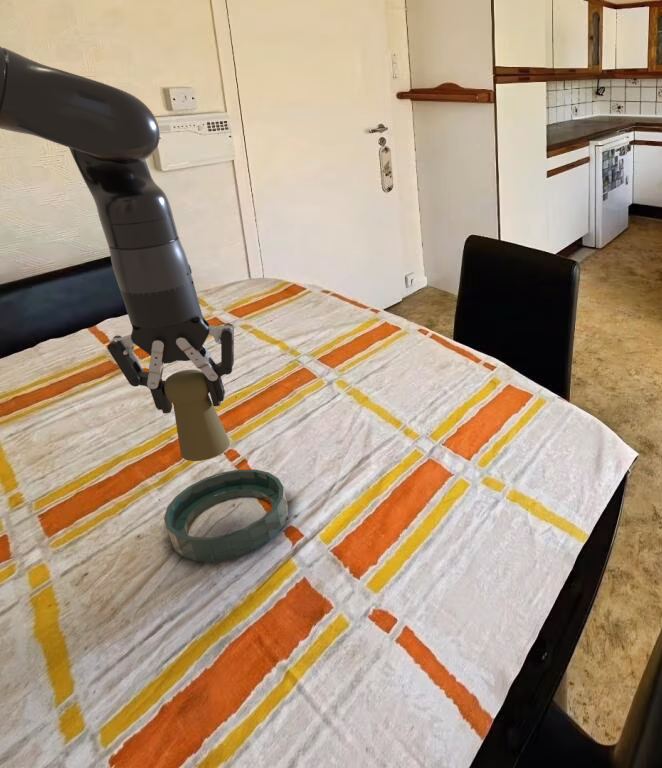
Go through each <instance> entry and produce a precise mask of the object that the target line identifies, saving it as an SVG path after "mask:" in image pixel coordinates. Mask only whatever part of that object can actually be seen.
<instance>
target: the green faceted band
mask: <svg viewBox="0 0 662 768" xmlns="http://www.w3.org/2000/svg"><path fill="white" fill-rule="evenodd" d="M238 498H255V499H258V500H259V499H260V500H262V501H264V502H266V503H267V504H269V505H270V507H271V508H270V510H268V511H267V513H265V514H264V515H263V516H262V517H261V518H259V519H257V520H256V521H254V522H252V523H251V524H249V525H247V526H246V527H243V528H240V529H237V530H235V531H233V532H229V533H225V534H219V535H214V536H191V535H189V534H188V533H189V529H190V526H191V525H192V523H193V522H194V521H195V519H196V518H197V517H198V516H200V515H201V514H202V513H203V512H204V511H205V510H208V509H209V508H211V507H213V506H215V505H217V504H220V503H222V502H225V501H228V500H233V499H238ZM288 517H289V505H288V501H287V497H286V492H285V488H284V485H283V483H282V482H281V480H280V479H279V478H278V477H277V476H276V475H274V474H272V473H270V472H269V471H264V470H260V469H249V468H248V469H246V468H245V469H243V468H241V469H233V470H228V471H222V472H219V473H216V474H212V475H210V476H205V477H204V478H202V479H200V480H198V481H196V482H194V483H192V484H191V485H188V486H186V488H185V489H183V490H181V492H179V493H178V494H177V495H175V497H174V498H173V500H172V501H170V503H169V505H168V506H167V507H166V510H165V513H164V516H163V521H164V525H165V528H166V531H167V534H168V537H169V539H170V542H171V545H172V548H173V550H174V551H175V552H176V553H178V554H179V555H180V556H181V557H182V558H186V559H189V560H192V561H196V562H221V561H225V560H230V559H235V558H238V557H241V556H243V555H246V554H248V553H251V552H253V551H255V550H257V549H258V548H260V547H262V546H263V545H265V544H267V543H268V542H270V541H271V540H272V539H273V538H274V537H275V536H276V535H277V534H278V533H279V532H280V531H281V530H282V529H283V527H284V525H285V524H286V521H287V519H288Z"/></svg>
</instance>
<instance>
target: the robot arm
mask: <svg viewBox="0 0 662 768" xmlns="http://www.w3.org/2000/svg"><path fill="white" fill-rule="evenodd" d="M0 130H5V131H10V132H14V133H19V134H25V135H30V136H34V137H38V138H41V139H43V140H47V141H48V142H49V141H50V142H52V143H54V144H57V145H60V146H64V147H67V148H68V149H69V151H70V153H71V156H72V158H73V160H74V162H75V165H76V167H77V169H78V171H79V172H80V175H81V177H82V179H83V181H84V183H85V185H86V187H87V189H88V191H89V192H90V194H91V196H92V198H93V201H94V203H95V206H96V211H97V214H98V218H99V221H100V225H101V228H102V231H103V234H104V237H105V240H106V243H107V245H108V250H109V255H110V261H111V267H112V270H113V273H114V276H115V279H116V282H117V285H118V288H119V292H120V294H121V298H122V301H123V303H124V306H125V311H126V313H127V316H128V318H129V322H130V324H131V328H132V329H131V334H128V335H127V334H126V335H125V336H122V335H114V336H113V337H112V339H111V341H110V342H109V343H108V345H107V347H106V348H107V351H108V352H109V354H110V355H111V357H112V358H113V360H114V361H115V363H116V365H117V366H118V368H119V369H120V371H121V373H122V375H124V377H125V379H126V380H127V382H128V383H129V385H130V386H132V387H139V386H142V387H146V388H148V389H149V390H150V391H149V392H150V393H151V397H152V400H153V403H154V406H155V408H156V409H157V410H158V411H162V413H163V415H164V414H165V415H166V414H171V412H172V409H173V402H171V401H169V399H168V398H167V396H166V395H165V392H164V383H165V381H166V379H165V380H163V379H162V378H163V373H164V367H165V365H167V364H172V363H176V362H179V361H180V362H191V363H192V364H193V365H194V366H195V367H196V368H197V370H198V369H199V371H202V372H203V373H204V375H205V376H206V377H207V378H208V380H207V385H208V389H209V397H210V399H211V401H212V404H213V406H214V408H215V407H220V406H221V403H222V402H224V398H225V395H226V391H225V387H224V382H223V379H222V377H223V376H224V375H226V376H227V375H230V374H231V373H232V372H233V366H234V363H235V355H234V354H235V330H234V329H235V326H234V325H233V324H232V323H230V322H227V323H225V324H223V325H214V324H210V323H209V322H208V321H207V320H206V319H205V318H204V315H203V312H202V309H201V305H200V301H199V298H198V295H197V290H196V286H195V283H194V279H193V276H192V268H191V265H190V263H189V260H188V257H187V254H186V252H185V248H184V247H183V244H182V242H181V239H180V236H179V234H178V230H177V226H176V221H175V219H174V215H173V211H172V206H171V204H170V201H169V198H168V196H167V194H166V193H165V191H164V190H163V189H162V188H161V187H160V186H159V185H158V184H157V183H156V182H155V181H154V179H153V177H152V175H151V172H150V169H149V166H148V163H147V161H146V160H147V159H149V158H150V157H151V156H152V155H153V154H154V153H155V151H156V150H157V148H158V146H159V144H160V139H161V134H160V133H161V132H160V126H159V123H158V121H157V119H156V117H155V114H154V113H153V112H152V110H151V109H150V107H148V106H147V104H145V103H144V102H143V101H142V100H141V99H139V97H136V96H135V95H133V94H132V93H129V92H127V91H126V90H123V89H121V88H117V87H115V86H112V85H109V84H106V83H103V82H100V81H97V80H94V79H91V78H88V77H85V76H82V75H78V74H75V73H72V72H68V71H65V70H63V69H59V68H55V67H51V66H48V65H45V64H43V63H40V62H37V61H35V60H32V59H30V58H29V57H26V56H23V55H22V54H19V53H17V52H15V51H12V50H11V49H8V48H6V47H2V46H0ZM209 336H212V337H213V339H214V342H215V343H216V344H218V345H220V350H221V351H220V362H218V363H217V362H216V360H215V359H214V358H213V357H212V355H211V352H210V351H209V349H208V348H207V346H205V342H206V340H207V339H208V337H209ZM134 345H135V346H136V347H138V348H139V349H140V350H142V351H143V352H145V353H146V354H147V355H149V356H150V359H149V366H148V371H144V369H143V367H142V366H141V365H140V362H139V361H138V360H137V358H136V356H135V354H134V350H135V346H134Z"/></svg>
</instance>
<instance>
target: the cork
mask: <svg viewBox="0 0 662 768" xmlns="http://www.w3.org/2000/svg"><path fill="white" fill-rule="evenodd" d="M207 380H208V378H207V377H206V376H205V375H204V373H203V372H202V371H201V370H200V369H199V370H198V369H183V370H179V371H176V372H173V373H172V374H170V375H169V376H167V378H166V379H165V383H164V392H165V395H166V396H167V398H168V399H169V401H171V402H172V406H173V413H174V419H175V423H176V424H175V426H176V431H177V439H178V447H179V455H180V456H181V458H182V459H183V460H185V461H188V462H189V461H190V462H202V461H207V460H211V459H214V458H217V457H219V456H220V455H222V454H223V453H224V452H226V451H227V450H228V449H229V447H230V445H231V442H230V439H229V436H228V434H227V432H226V430H225V428H224V426H223V423H222V421H221V419H220V417H219V415H218V413H217V410H216V408H215V407H214V406H213V403H212V399H211V396H210V392H209V389H208V385H207Z"/></svg>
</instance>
